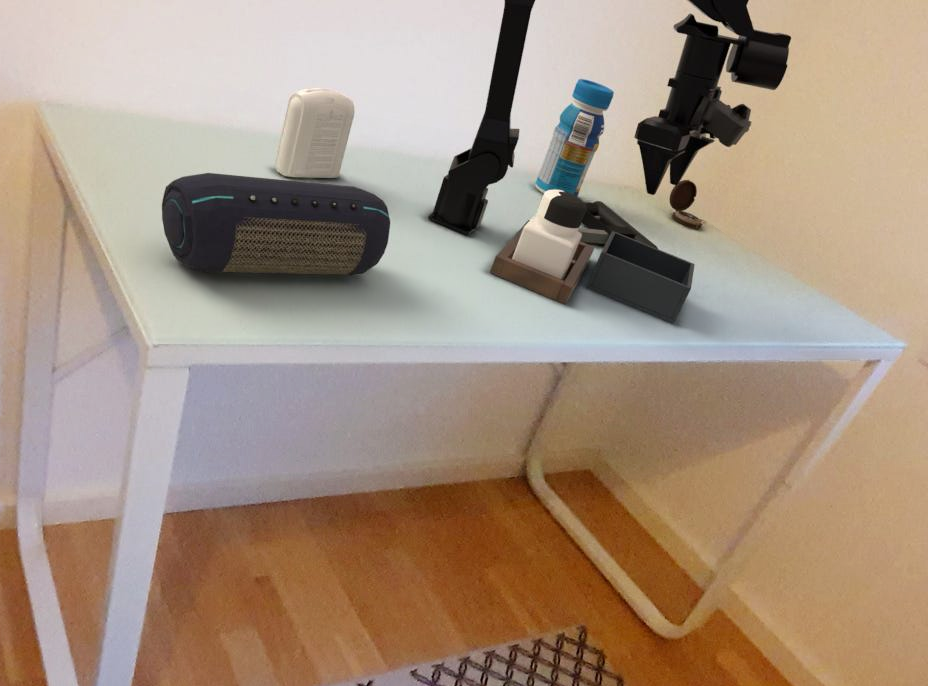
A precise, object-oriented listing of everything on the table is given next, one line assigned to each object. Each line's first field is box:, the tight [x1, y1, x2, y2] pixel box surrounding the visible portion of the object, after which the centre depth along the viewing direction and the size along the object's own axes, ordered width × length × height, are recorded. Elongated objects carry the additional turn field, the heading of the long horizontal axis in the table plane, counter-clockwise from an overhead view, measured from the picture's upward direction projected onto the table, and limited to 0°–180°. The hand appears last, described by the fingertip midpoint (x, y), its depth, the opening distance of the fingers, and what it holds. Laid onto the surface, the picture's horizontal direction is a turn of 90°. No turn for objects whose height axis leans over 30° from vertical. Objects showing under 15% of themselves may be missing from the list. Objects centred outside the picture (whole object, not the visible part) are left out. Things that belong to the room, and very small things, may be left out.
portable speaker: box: [161, 172, 391, 277], centre depth 92 cm, size 25×10×10 cm, turn 122°
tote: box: [585, 231, 695, 325], centre depth 123 cm, size 13×12×6 cm
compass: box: [668, 179, 707, 230], centre depth 168 cm, size 8×8×7 cm
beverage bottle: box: [534, 78, 614, 197], centre depth 152 cm, size 8×8×20 cm
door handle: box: [578, 200, 659, 249], centre depth 142 cm, size 3×20×16 cm
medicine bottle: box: [512, 189, 587, 281], centre depth 115 cm, size 7×7×12 cm
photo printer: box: [274, 87, 355, 179], centre depth 121 cm, size 10×4×12 cm, turn 134°
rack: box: [489, 219, 596, 305], centre depth 121 cm, size 11×21×2 cm, turn 162°
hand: (662, 189), depth 121 cm, fingers open, 9 cm apart
